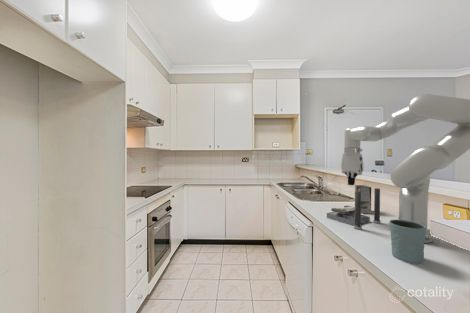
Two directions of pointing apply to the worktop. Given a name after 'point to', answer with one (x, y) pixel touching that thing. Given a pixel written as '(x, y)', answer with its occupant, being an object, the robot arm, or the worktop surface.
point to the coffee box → (365, 198)
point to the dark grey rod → (357, 210)
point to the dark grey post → (377, 206)
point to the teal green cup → (407, 240)
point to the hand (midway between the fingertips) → (351, 184)
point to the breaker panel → (346, 216)
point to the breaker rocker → (347, 208)
